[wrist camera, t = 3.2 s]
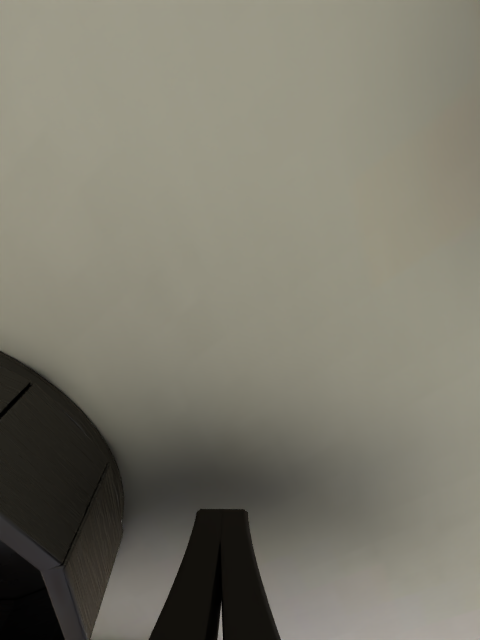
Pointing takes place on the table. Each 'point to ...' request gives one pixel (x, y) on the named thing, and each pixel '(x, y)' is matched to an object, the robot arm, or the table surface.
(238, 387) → the table surface
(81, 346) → the table surface
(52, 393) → the pan
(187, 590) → the robot arm
